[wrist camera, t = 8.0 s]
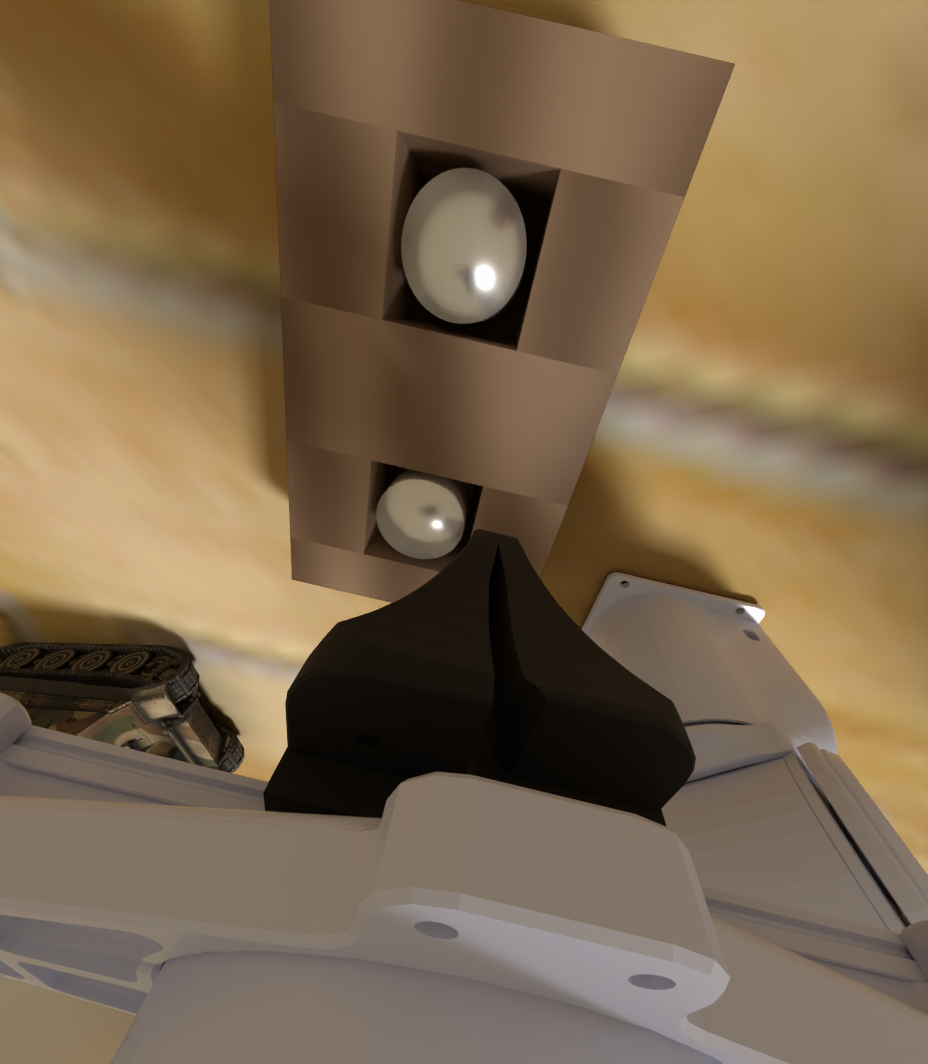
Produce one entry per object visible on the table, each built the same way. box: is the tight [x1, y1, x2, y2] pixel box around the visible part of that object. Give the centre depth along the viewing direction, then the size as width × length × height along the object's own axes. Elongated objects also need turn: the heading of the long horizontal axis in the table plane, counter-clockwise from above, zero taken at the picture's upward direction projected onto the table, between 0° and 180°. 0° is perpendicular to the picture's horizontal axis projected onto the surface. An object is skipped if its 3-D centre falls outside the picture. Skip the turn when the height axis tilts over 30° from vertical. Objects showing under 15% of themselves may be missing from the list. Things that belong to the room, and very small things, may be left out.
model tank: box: [0, 643, 244, 773], centre depth 29 cm, size 13×22×15 cm, turn 95°
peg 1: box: [401, 168, 527, 324], centre depth 14 cm, size 4×4×5 cm
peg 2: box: [376, 468, 474, 559], centre depth 19 cm, size 4×4×5 cm
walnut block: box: [270, 0, 735, 603], centre depth 17 cm, size 12×20×5 cm, turn 169°
